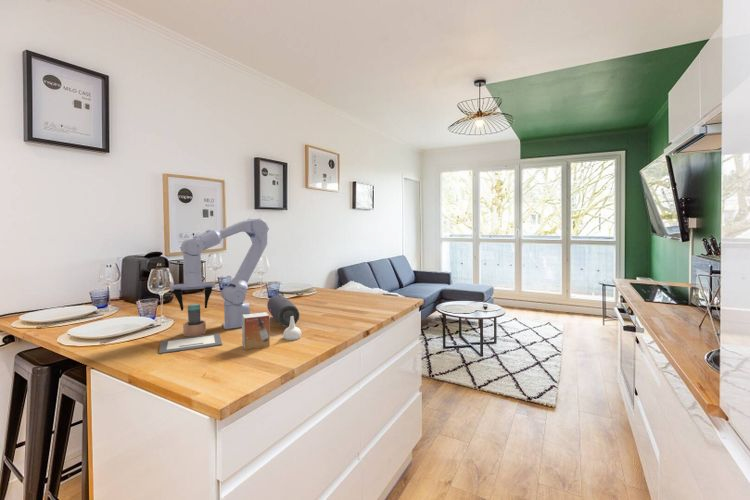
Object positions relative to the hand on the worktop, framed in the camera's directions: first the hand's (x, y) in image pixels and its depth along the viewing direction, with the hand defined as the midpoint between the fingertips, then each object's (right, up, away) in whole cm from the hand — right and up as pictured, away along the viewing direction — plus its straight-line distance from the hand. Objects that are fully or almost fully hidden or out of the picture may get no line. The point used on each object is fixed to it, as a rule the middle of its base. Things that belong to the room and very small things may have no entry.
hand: (194, 308), depth 127 cm
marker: (0, -9, +1) cm, 9 cm away
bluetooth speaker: (+28, -9, +15) cm, 33 cm away
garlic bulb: (+37, -10, -4) cm, 38 cm away
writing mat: (+4, -10, -10) cm, 15 cm away
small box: (+27, -11, -12) cm, 31 cm away
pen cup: (0, -9, +1) cm, 9 cm away
